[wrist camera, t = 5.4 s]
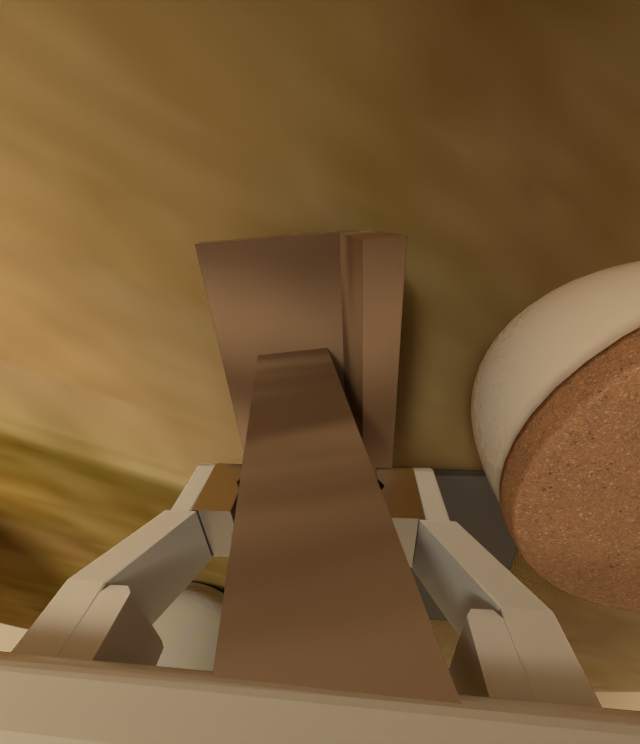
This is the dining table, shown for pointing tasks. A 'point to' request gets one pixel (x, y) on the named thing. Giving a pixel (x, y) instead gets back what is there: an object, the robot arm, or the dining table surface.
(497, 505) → the mat
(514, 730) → the robot arm
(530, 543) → the lidded jar
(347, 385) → the scraper
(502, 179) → the dining table surface
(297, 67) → the dining table surface
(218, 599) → the teacup
